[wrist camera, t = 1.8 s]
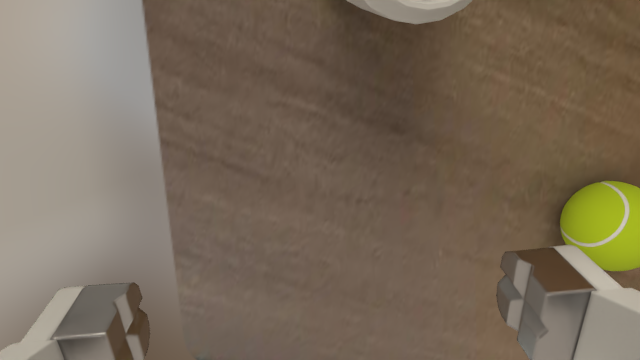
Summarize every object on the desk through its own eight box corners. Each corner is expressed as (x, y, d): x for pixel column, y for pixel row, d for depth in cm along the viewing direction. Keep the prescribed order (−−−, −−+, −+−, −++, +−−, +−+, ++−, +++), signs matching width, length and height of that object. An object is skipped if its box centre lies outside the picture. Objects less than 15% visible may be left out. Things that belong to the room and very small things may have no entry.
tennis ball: (526, 218, 38) (575, 266, 32) (584, 153, 36) (649, 190, 29) (582, 251, 40) (639, 302, 33) (640, 190, 38) (712, 233, 31)
